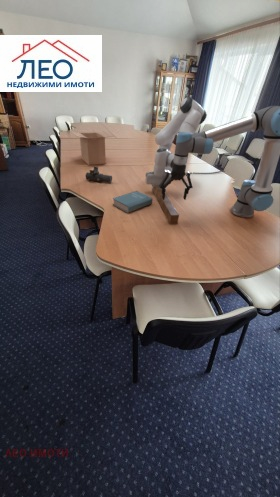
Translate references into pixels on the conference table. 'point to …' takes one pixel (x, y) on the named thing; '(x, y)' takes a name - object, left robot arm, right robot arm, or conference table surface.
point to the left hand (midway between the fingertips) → (157, 189)
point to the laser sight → (98, 176)
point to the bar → (166, 205)
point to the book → (132, 201)
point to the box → (92, 146)
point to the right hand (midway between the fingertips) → (173, 199)
